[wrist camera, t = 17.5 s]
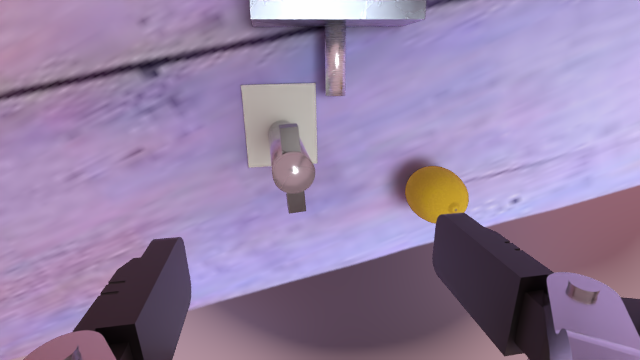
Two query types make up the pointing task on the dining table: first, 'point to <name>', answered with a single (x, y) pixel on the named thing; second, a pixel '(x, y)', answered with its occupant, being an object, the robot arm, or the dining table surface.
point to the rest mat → (278, 117)
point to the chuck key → (290, 164)
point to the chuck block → (335, 24)
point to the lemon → (435, 193)
